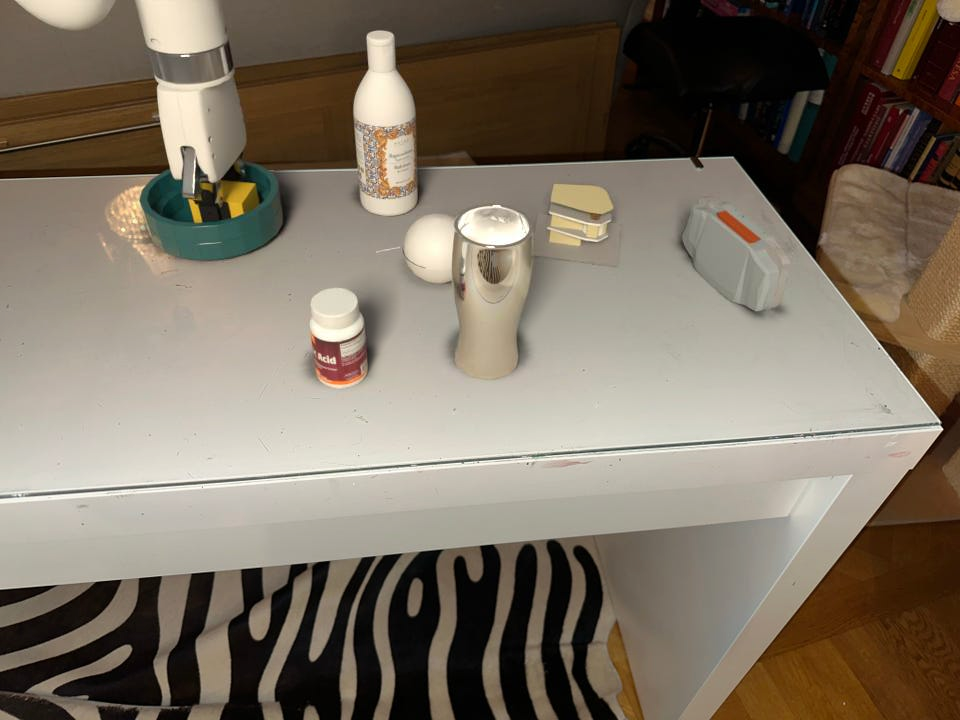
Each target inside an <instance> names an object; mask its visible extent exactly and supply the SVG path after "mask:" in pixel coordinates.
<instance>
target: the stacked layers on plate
mask: <svg viewBox="0 0 960 720" xmlns="http://www.w3.org/2000/svg"><path fill="white" fill-rule="evenodd" d="M549 202H550V205H549V209H548V214H546V213H545V214H544V213H538V214H537V219H536V223H535V228H534V231H533V257H540V258H541V257H542V258H549V259H555V260H564V261H571V262H577V263H585V264H592V265H594V264H595V265H602V266H607V267H608V266H609V267H615V268H618V267H619V260H620V247H621V232H622V223H617V222H612V218H613V217H612V215H611V213H610V211H612V210H614V205H613V202H612V200H611V199H610V196H609V193H608V191H607V190H606V189H605V188H603V187H600V186H597V185H589V184H588V185H585V184H566V183H565V184H563V183H554V184H553V187H552V191H551V194H550V200H549Z"/></svg>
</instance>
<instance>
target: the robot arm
mask: <svg viewBox="0 0 960 720" xmlns="http://www.w3.org/2000/svg"><path fill="white" fill-rule="evenodd" d="M14 1H15V2H16V3H17V5H19V6H20V7H22V8H23V9H24V10H25V11H26V12H28V13H30V14H31V15H32V16H34V17H36V19H38V20H40V21H41V22H44V23H46V25H47V24H48V25H49V26H52V27H55V28H57V29H61V30H66V31H84V30H88V29H91V28H93V27H95V26H97V25H98V24H100V23H101V22H102V21H103V20H104V19H106V17H107V16H108V14H109V13H110V11H111V10H112V8H113V7H114V4H115V3H116V2H117V0H14ZM134 3H135V7H136V11H137V13H138V18H139V23H140V26H141V30H142V34H143V37H144V41H145V44H146V49H147V53H148V56H149V60H150V65H151V68H152V71H153V75H154V79H155V82H157V83H158V85H157V86H156V97H157V98H156V99H157V107H158V109H157V110H158V116H159V121H160V129H161V132H162V138H163V144H164V149H165V152H166V157H167V161H168V164H169V169H170V170H171V173H172V176H173V177H174V179H175V180H182V179H183V190H182V195H183V197H184V198H186V199H191V200H193V201H194V202H195V204H196V205H198V207H199V211H200V215H201V219H202V223H203V222H216V221H221V220H225V219H229V218H231V215H230V211H229V206H228V202H224V201H223V191H222V182H221V180H223V181H234V182H245V183H246V181H245V178H241V176H242V177H243V176H244V175H245V167H244V164H243V161H242V160H243V155H244V152H243V151H244V149H245V148H246V146H247V140H248V139H247V130H246V123H245V117H244V114H243V109H242V104H241V100H240V96H239V92H238V89H237V85H236V81H235V78H234V75H235V73H236V72H235V71H236V70H235V66H234V60H233V55H232V50H231V44H230V39H229V34H228V29H227V24H226V19H225V14H224V9H223V3H222V0H134ZM200 171H203V172H204V174H200ZM206 174H208V175H206ZM202 183H210V184H212V188H213V193H212V192H211V191H209V190H205V189H202Z"/></svg>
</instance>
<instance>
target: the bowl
mask: <svg viewBox="0 0 960 720" xmlns="http://www.w3.org/2000/svg"><path fill="white" fill-rule="evenodd" d="M242 161H243V164H244V167H245V175H244V176H243V177H242V176H241V178H245V181H246V183H255V184H256V189H257V194H258V199H259V205H258V206H257V207H256V208H254V209H253V210H251V211H248V212H246V213H244V214H241V215H239V216H237V217H234V218H229V219H225V220H221V221H216V222H203V223H194V219H193V215H192V211H191V207H190V204H189V200H188V199H186V198H184V197H183V195H182V190H183V179H182V180H175V179H174V177H173V176H172V173H171V170H170V168H169V169H165V170H164V171H163V172H161V173H159V174H157V175H156V176H154V177H153V178H150V180H149V181H148V183H147V184H145V186H144V187H143V188H142V189H141V192H140V196H139V204H140V207H141V211H142V215H143V217H144V221H145V224H146V226H147V227H146V228H147V230H148V233H149V236H150V238H151V241H152V243H153V245H155V246H156V247H157V248H159V249H160V250H161V251H163V252H164V253H166V254H169V255H172V256H175V257H178V258H181V259H186V260H187V259H188V260H193V261H203V262H205V261H207V262H208V261H209V262H211V261H221V260H222V261H223V260H229V259H234V258H237V257H240V256H243V255H246V254H248V253H250V252H252V251H255V250H257V249H258V248H260V247H262V246H264V245H265V244H267V243H268V242H269V241H270V240H271V239H273V238H274V237H275V236H276V235H278V233H279V231H280V230H281V228H282V226H283V224H284V211H283V205H282V198H281V193H280V186H279V181H278V179H277V178H276V176H275V175H274V173H273V171H271V170H269V169H268V168H266V167H265V166H263V165H260V164H258V163H255V162H251V161H248V160H243V159H242ZM200 174H204V172H203V171H200ZM206 175H208V174H206Z"/></svg>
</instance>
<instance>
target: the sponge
mask: <svg viewBox="0 0 960 720" xmlns="http://www.w3.org/2000/svg"><path fill="white" fill-rule="evenodd" d="M221 182H222V191H223V201H224V202H228V206H229V211H230V215H231V218H234V217H237V216H239V215H241V214H244V213H246V212H248V211H251V210H253V209H254V208H256V207H257V206H258V205H259V199H258V194H257V189H256V184H255V183H245V182H234V181H223V180H221ZM202 189H205V190H209V191H211V192H212V193H213V188H212V184H210V183H202ZM188 200H189V204H190V207H191V211H192V215H193V219H194V223H202V219H201V215H200V211H199V207H198V205H196V204H195V202H194V201H193V200H191V199H188Z"/></svg>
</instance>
